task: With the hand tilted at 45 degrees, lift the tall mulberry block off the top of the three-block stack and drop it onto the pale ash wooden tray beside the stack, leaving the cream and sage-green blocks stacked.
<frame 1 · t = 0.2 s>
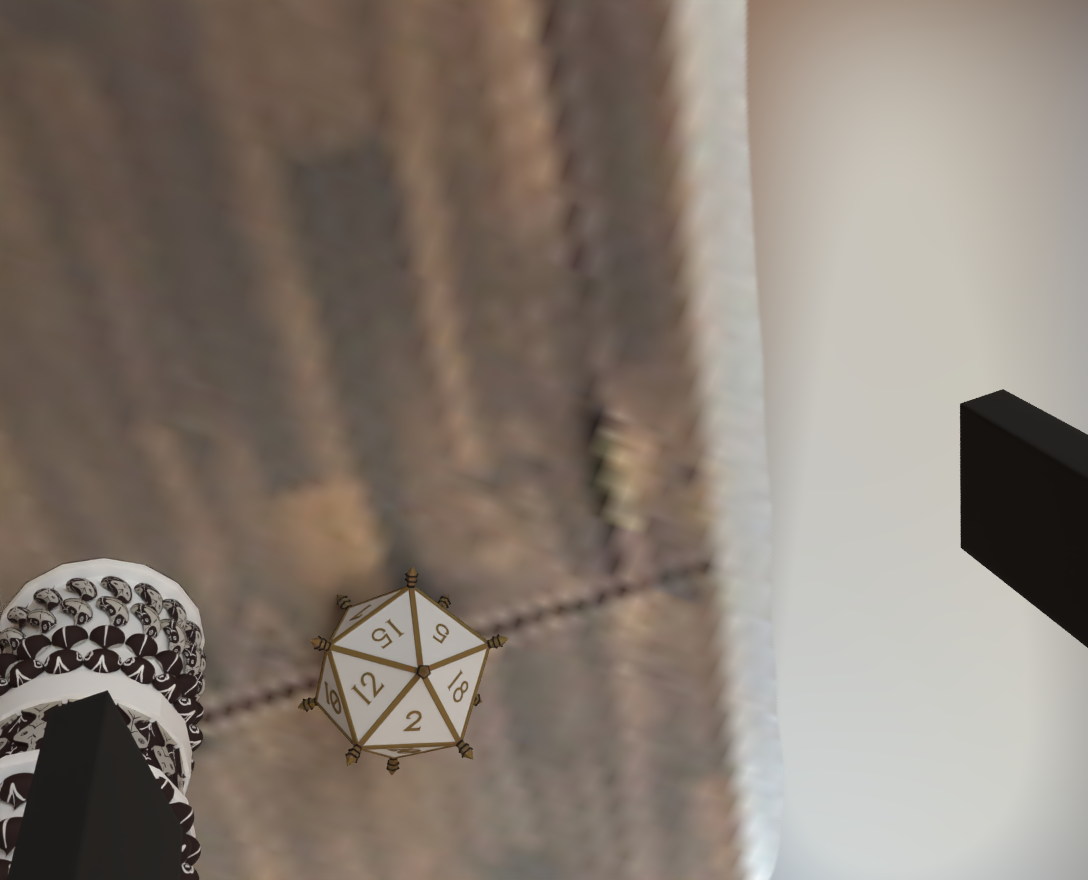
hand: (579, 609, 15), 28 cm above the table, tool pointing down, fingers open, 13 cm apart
leaning tower model: (102, 638, 44), on the table
game die: (389, 619, 47), on the table
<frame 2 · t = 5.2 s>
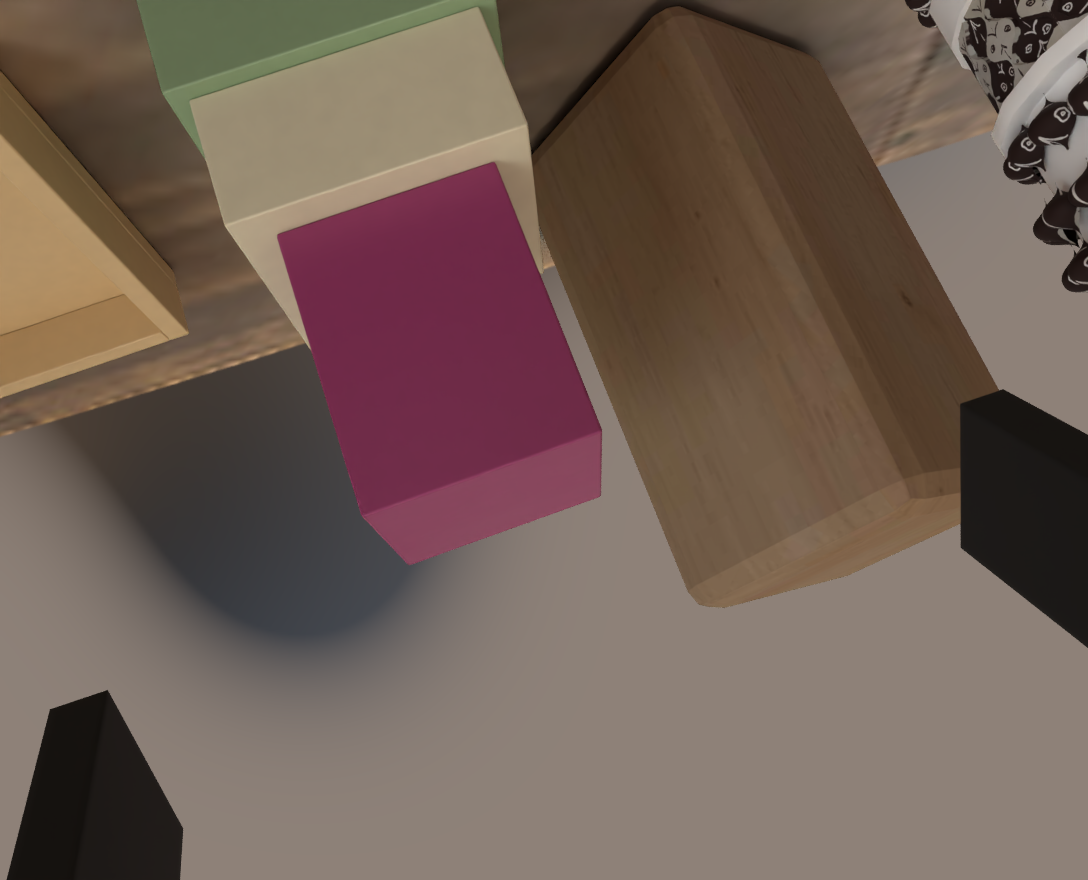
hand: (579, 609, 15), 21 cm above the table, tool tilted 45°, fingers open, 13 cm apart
cream block: (368, 142, 30), point 4 cm above the table, touching mulberry block, sage block
mulberry block: (406, 253, 28), point 8 cm above the table, touching cream block
sage block: (328, 28, 31), on the table, touching cream block
wooden block: (661, 105, 41), on the table
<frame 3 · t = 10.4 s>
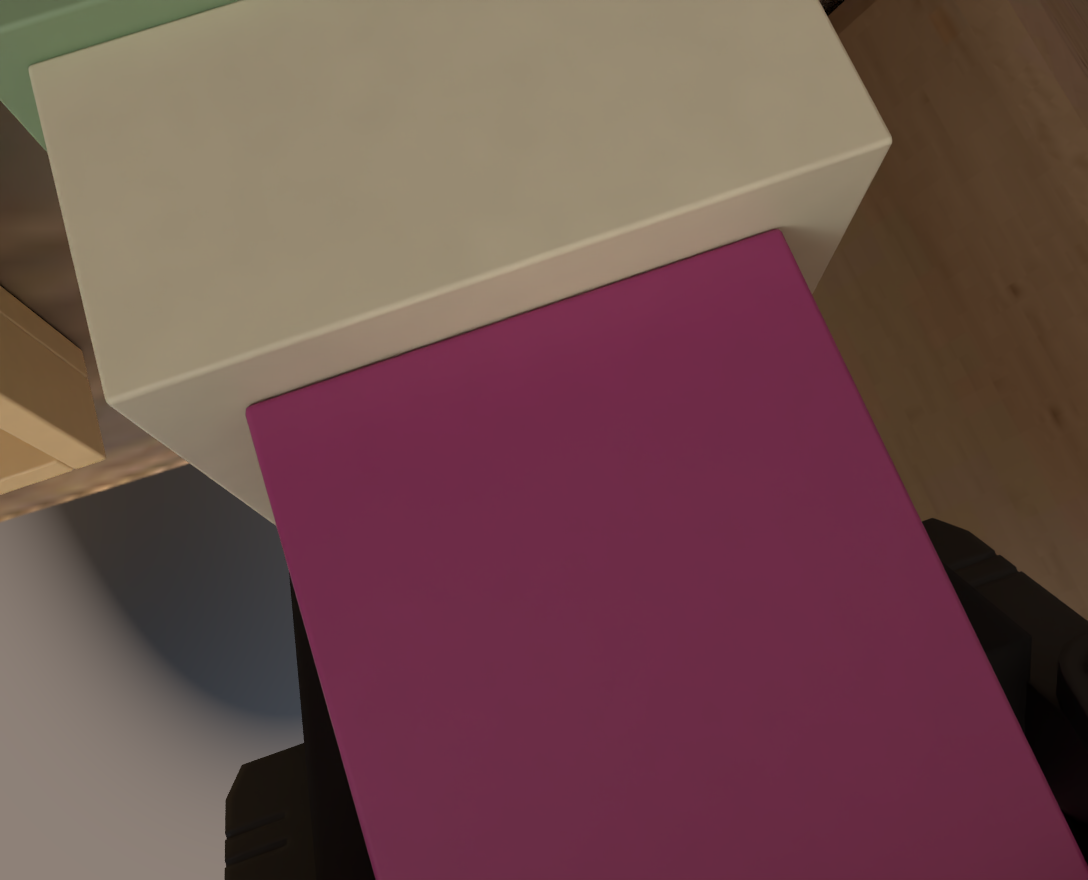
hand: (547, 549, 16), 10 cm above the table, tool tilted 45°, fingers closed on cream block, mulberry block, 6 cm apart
cream block: (439, 160, 14), point 5 cm above the table, touching gripper, mulberry block, sage block
mulberry block: (528, 406, 13), point 9 cm above the table, touching cream block, gripper
wooden block: (867, 88, 26), on the table
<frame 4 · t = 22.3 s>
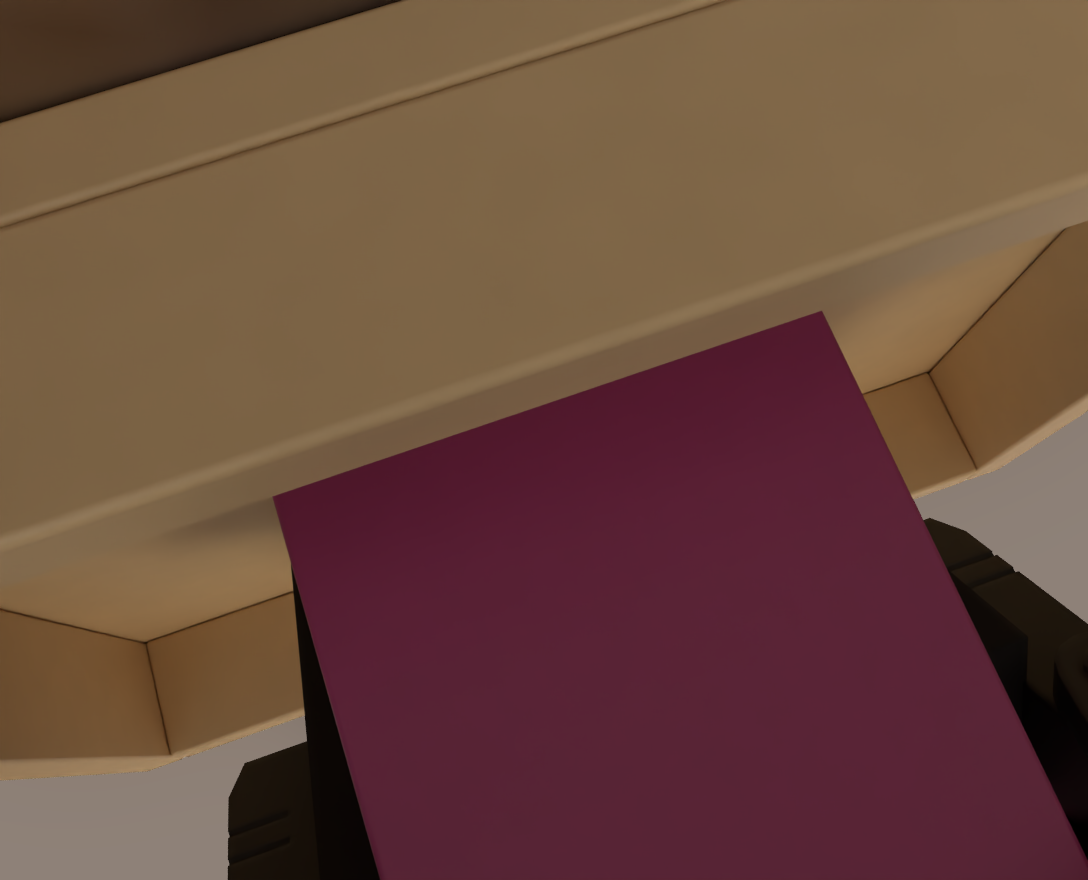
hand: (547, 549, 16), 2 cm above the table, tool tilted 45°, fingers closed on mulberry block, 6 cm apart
mulberry block: (528, 404, 13), point 1 cm above the table, touching gripper
tray: (516, 345, 14), on the table
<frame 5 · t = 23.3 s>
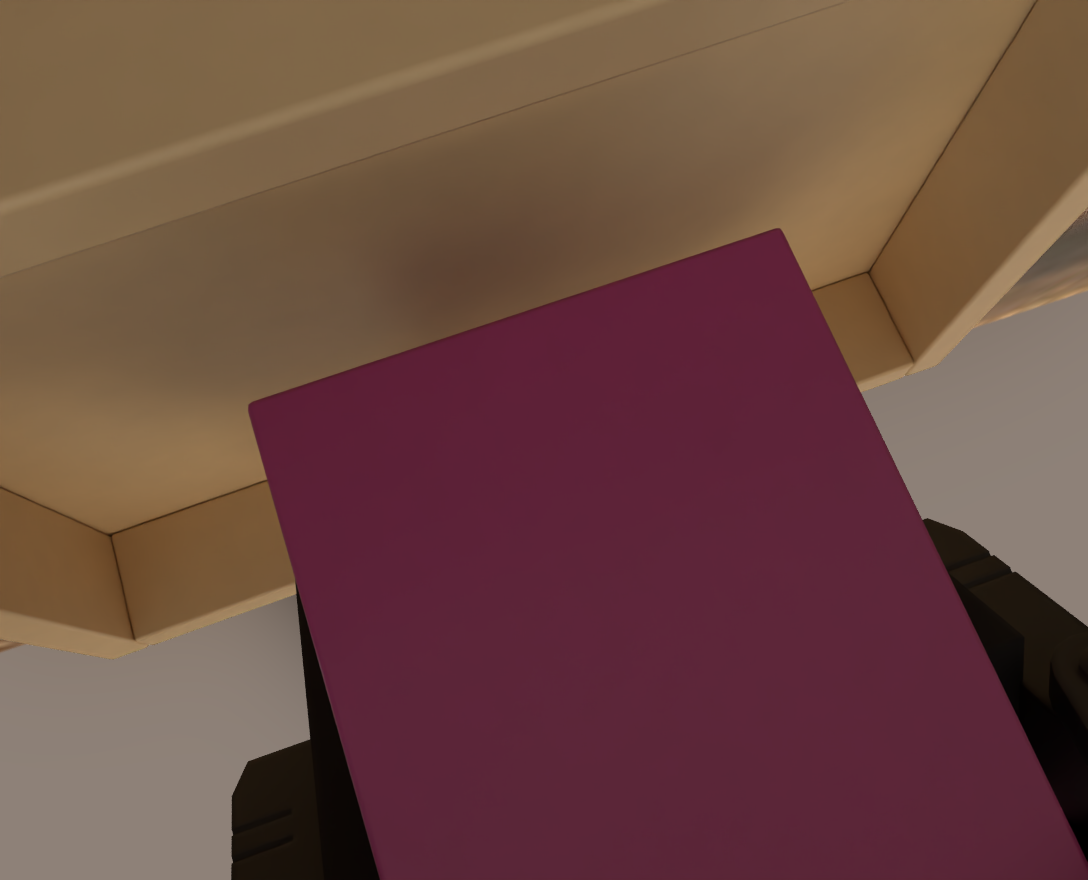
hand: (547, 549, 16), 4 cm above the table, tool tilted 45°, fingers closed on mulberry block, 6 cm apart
mulberry block: (527, 404, 13), point 3 cm above the table, touching gripper
tray: (450, 208, 14), on the table
when the fingers open (4 cm above the table, at t = 33.4 s): mulberry block drops 2 cm, resting on tray.
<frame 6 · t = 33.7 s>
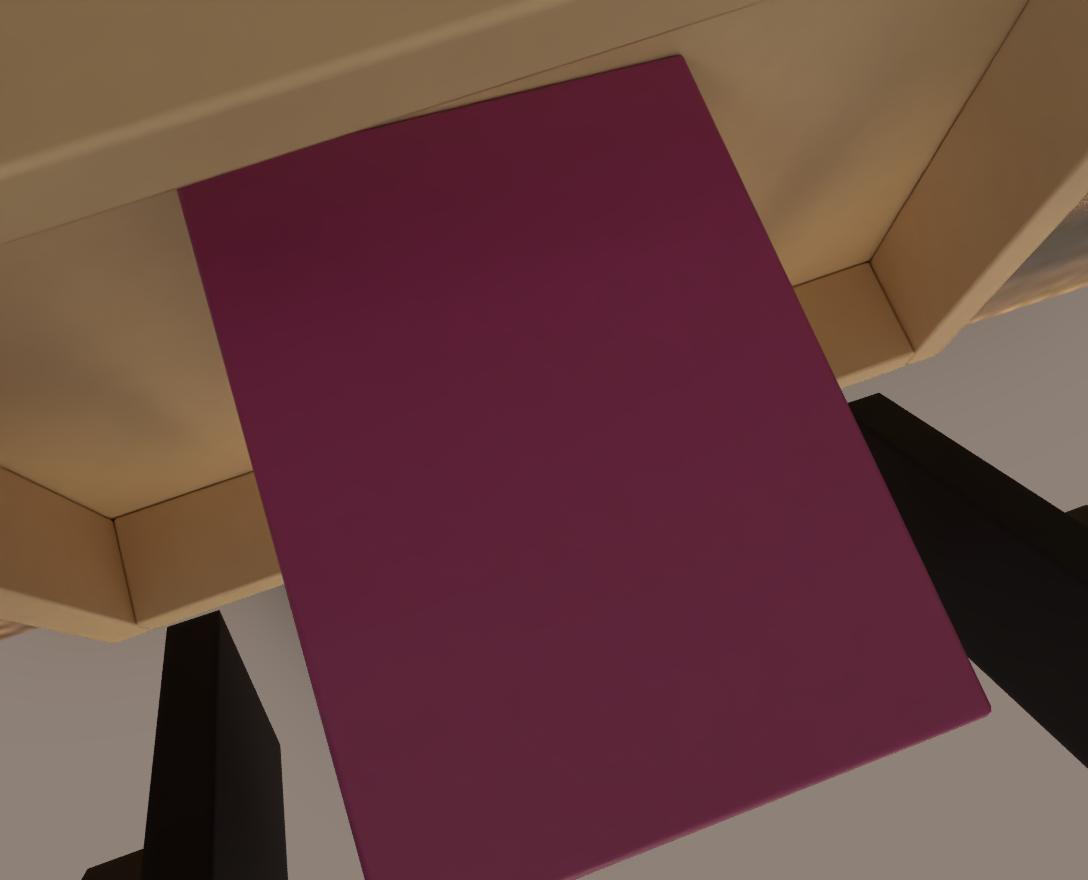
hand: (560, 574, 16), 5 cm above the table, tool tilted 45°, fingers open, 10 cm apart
mulberry block: (443, 245, 14), point 1 cm above the table, touching tray
tray: (452, 191, 14), on the table
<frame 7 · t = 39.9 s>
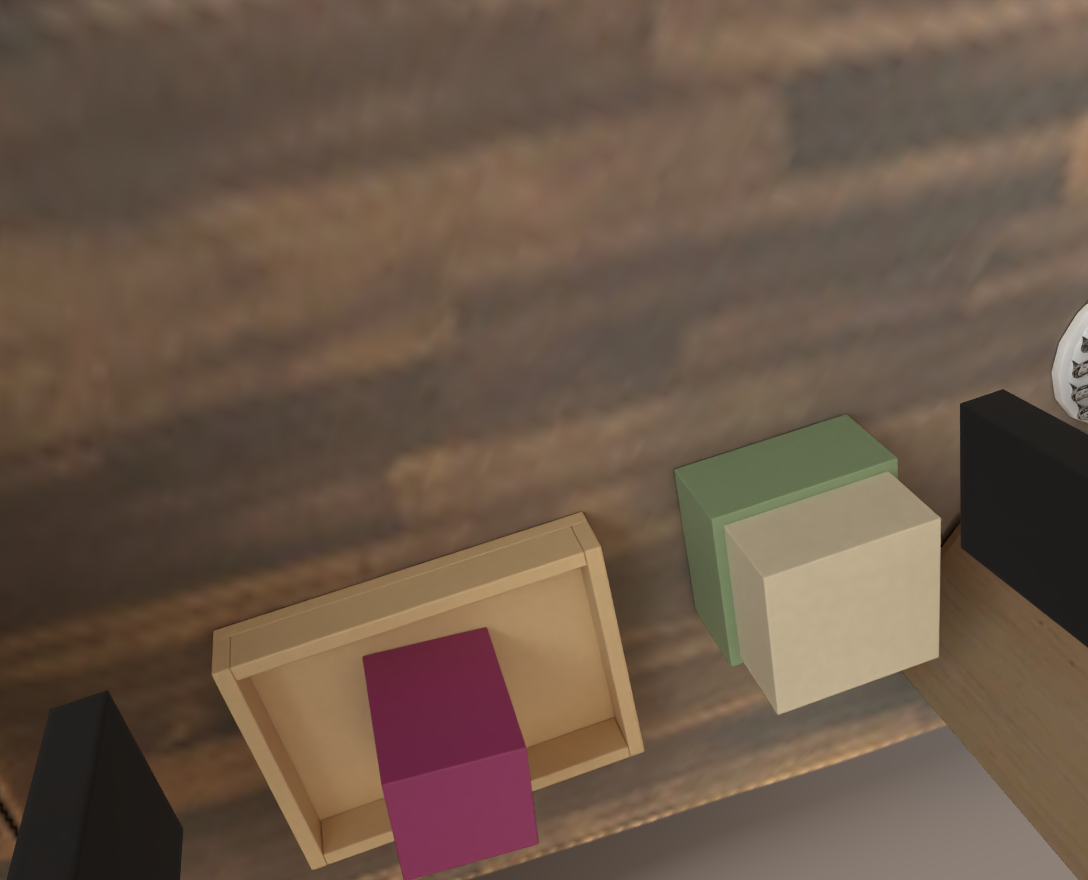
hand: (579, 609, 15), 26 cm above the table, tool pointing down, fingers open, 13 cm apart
cream block: (811, 567, 46), point 5 cm above the table, touching sage block
mulberry block: (433, 687, 48), point 1 cm above the table, touching tray
sage block: (768, 515, 50), on the table, touching cream block
tray: (438, 674, 49), on the table
wooden block: (974, 589, 56), on the table
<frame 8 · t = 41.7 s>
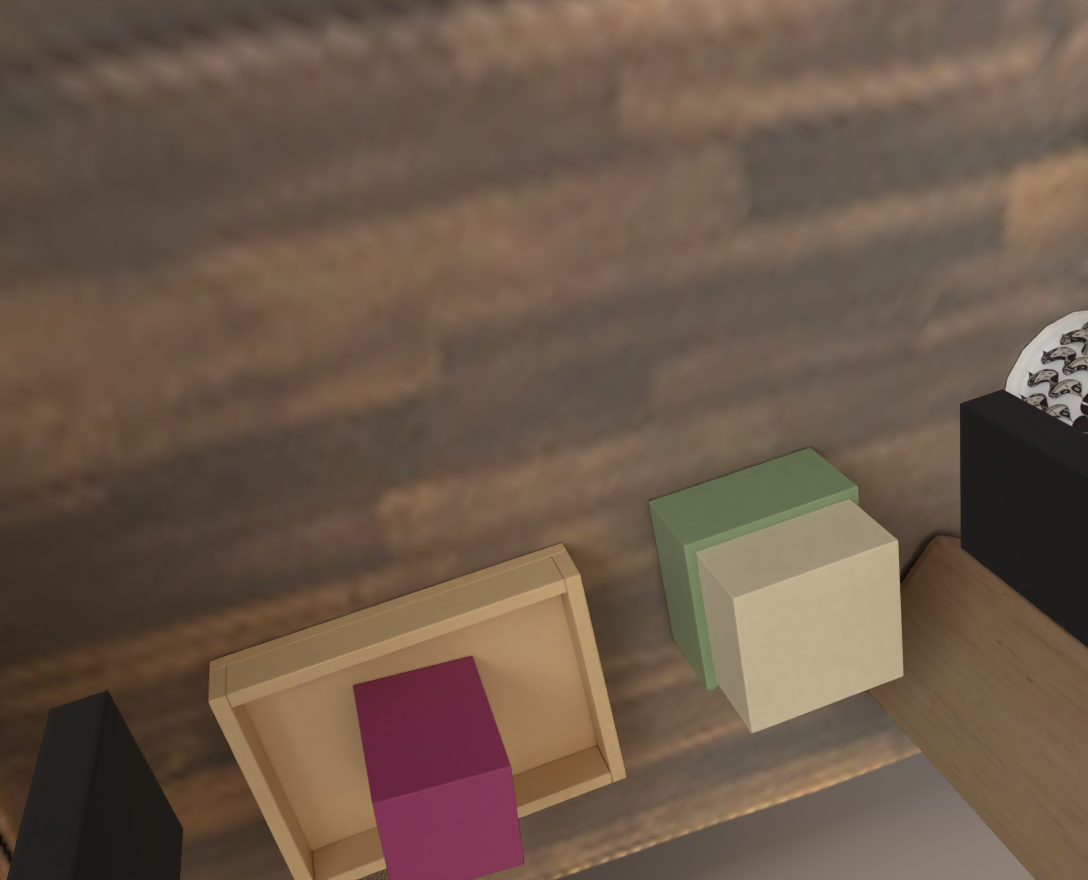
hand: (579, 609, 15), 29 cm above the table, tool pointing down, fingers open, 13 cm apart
cream block: (780, 591, 48), point 5 cm above the table, touching sage block
leaning tower model: (1066, 383, 54), on the table
mulberry block: (421, 716, 50), point 1 cm above the table, touching tray
sage block: (739, 545, 52), on the table, touching cream block
tray: (426, 703, 51), on the table
wooden block: (940, 616, 59), on the table
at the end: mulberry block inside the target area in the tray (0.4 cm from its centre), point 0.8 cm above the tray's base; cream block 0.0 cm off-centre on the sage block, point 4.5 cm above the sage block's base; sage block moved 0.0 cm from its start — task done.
